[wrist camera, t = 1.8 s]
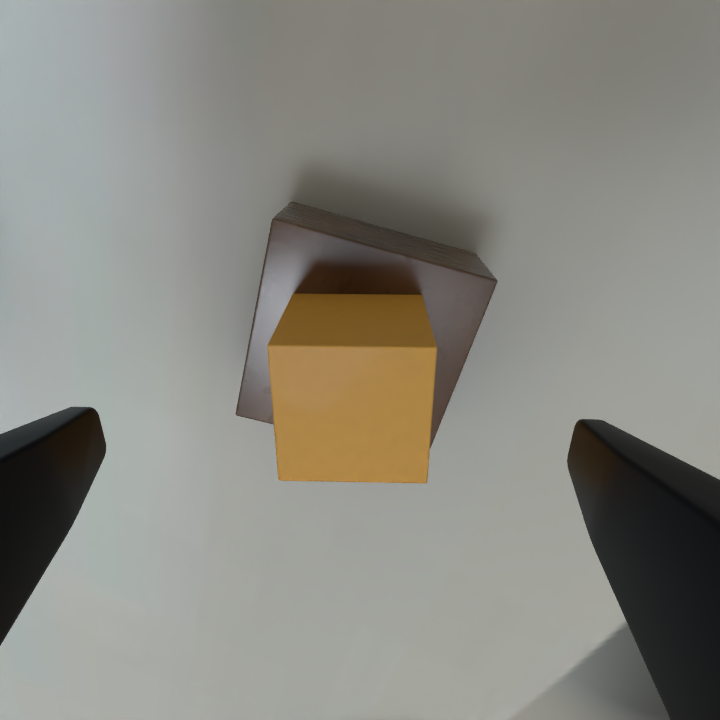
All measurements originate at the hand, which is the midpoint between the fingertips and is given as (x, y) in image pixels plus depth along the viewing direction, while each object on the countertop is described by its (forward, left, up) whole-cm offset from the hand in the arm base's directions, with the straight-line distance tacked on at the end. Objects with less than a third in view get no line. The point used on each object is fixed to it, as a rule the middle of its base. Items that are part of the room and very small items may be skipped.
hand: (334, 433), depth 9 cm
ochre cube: (-2, +2, -9) cm, 9 cm away
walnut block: (-2, +2, -13) cm, 13 cm away
